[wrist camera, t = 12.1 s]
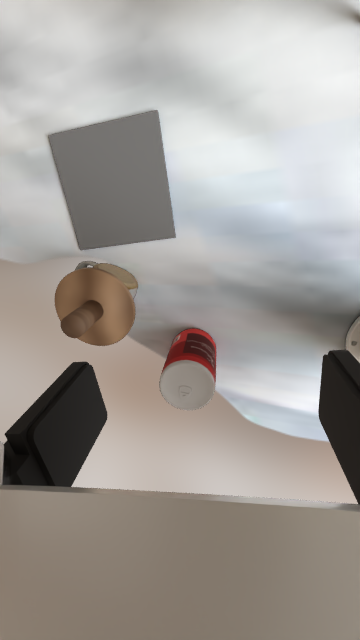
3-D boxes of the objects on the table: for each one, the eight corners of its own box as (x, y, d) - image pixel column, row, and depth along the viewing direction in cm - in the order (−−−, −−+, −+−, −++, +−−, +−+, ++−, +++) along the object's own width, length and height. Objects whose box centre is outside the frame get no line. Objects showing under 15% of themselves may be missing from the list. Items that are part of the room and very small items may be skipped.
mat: (158, 111, 32) (157, 110, 31) (175, 237, 38) (175, 237, 37) (50, 136, 35) (48, 135, 34) (82, 249, 41) (80, 250, 40)
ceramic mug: (146, 278, 41) (130, 292, 34) (128, 319, 44) (110, 339, 37) (86, 246, 40) (57, 254, 34) (72, 290, 44) (43, 306, 37)
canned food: (175, 367, 47) (162, 410, 37) (169, 327, 44) (154, 363, 34) (217, 366, 46) (216, 411, 36) (214, 325, 42) (213, 362, 32)
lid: (124, 261, 32) (102, 274, 27) (143, 339, 37) (128, 364, 31) (47, 273, 35) (12, 287, 29) (73, 345, 39) (47, 370, 33)
